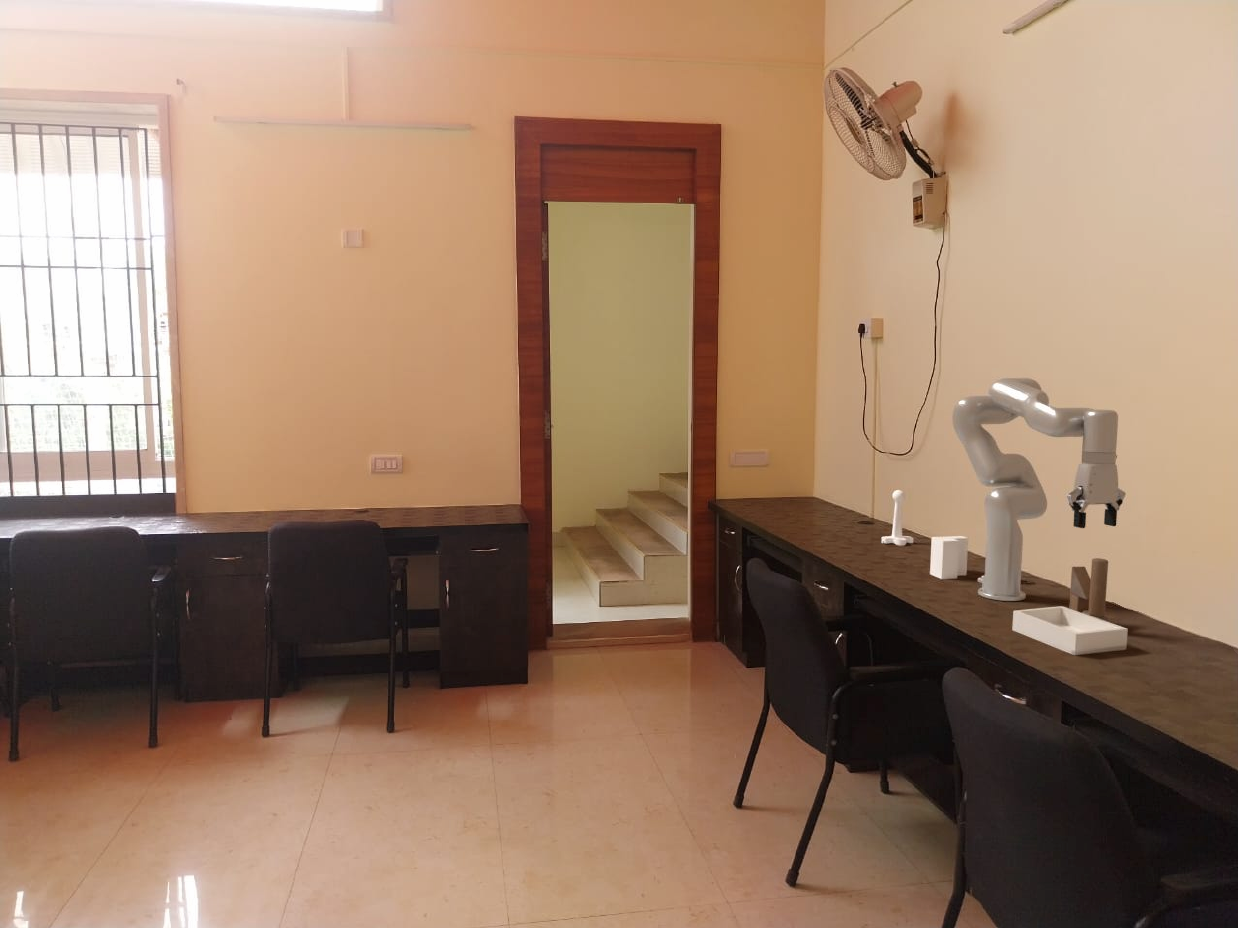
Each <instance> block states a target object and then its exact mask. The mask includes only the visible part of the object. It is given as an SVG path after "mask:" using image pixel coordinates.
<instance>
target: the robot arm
mask: <svg viewBox="0 0 1238 928" xmlns="http://www.w3.org/2000/svg"><path fill="white" fill-rule="evenodd" d="M1018 417H1021V418H1023V419H1024V421H1025V422H1026V425H1028V427H1030V429H1032V430H1034V431H1036V432H1038V433H1041V434H1042V435H1043V434H1044V435H1046V436H1049V437H1053V438H1080V437H1081V438H1082V447H1081V463H1079V464H1078V465H1077V466H1078V467H1077V469H1076V473H1075V477H1074V478H1075V479H1074V484H1073V490H1072V491H1071V492H1069V493H1068V494H1066V498H1067V501H1068V505H1069V506H1070V507H1071V510H1072V512H1073V525H1072V526H1073V527H1074V528H1075V527H1076V528H1079V529H1085V528H1086V523H1087V512H1086V509H1087V508H1088V506H1089V505H1090V506H1091V505H1095V506H1096V505H1105V507H1106V508H1105V509H1104V521H1103V524H1104V525H1106V526H1110V527H1117V521H1118V520H1117V519H1118V518H1117V517H1118V516H1117V515H1118V511H1120V507H1121V505H1122V504H1123V502H1124V499H1125V498H1126V492H1125V491H1123V490H1122V489H1120V488H1119V473H1118V466H1117V464H1116V462H1117V461H1116V460H1117V459H1118V455H1117V445H1118V443H1117V442H1118V427H1119V415H1118V412H1116V411H1115V410H1112V409H1095V408H1094V409H1093V408H1089V407H1056V406H1055V407H1054V406H1052V405H1050V400H1049V396H1048V394H1047V393H1046V392H1045V391H1043V389H1042V387H1041V385H1040V384H1039V383H1038V382H1037V381H1036V380H1035V379H1033V378H1030V377H1028V378H1027V377H1019V378H1018V377H1014V378H1013V377H1011V378H1010V377H1006V378H1000V379H998V380H996V381H994V382H993V383H992V384H991V385H990V387H989V389H988V395H972V396H971V395H970V396H967V397H963V398H961V399H960V400H958V401H957V402H956V403H955V405H954V408H953V410H952V426H953V429H954V432H955V434H956V436H957V437H958V439H959V441H960V442H961V444H962V446H963V447H964V449H965V451H966V454H967V455H968V458H969V461H970V463H971V465H972V467H973V470H974V473H975V474H976V477H977V479H978V481H979V482H980V484H981V485H983V486H985V487H989V488H990V487H991V488H993V487H994V489H992V490H990V491H989V492H988V493H987V494H986V496H985V498H984V511H985V513H984V514H985V518H986V544H985V545H986V546H985V560H984V562H985V563H984V564H985V565H984V575H981V576H980V577H978V578H977V582H978V583H981V587H980V588H978V590H977V593H978V595H979V596H981V597H983V598H986V599H990V600H995V601H1002V602H1003V601H1005V602H1018V601H1022V600H1025V599H1026V595H1027V594H1026V593H1025V592H1024V591H1022V590H1021V579H1022V578H1021V576H1022V563H1023V562H1022V560H1023V545H1024V544H1023V542H1024V537H1023V531H1022V528H1021V526H1020V525H1019V522H1018V521H1021V520H1033V519H1038V518H1040V517H1042V516H1043V515H1045V513H1046V512H1047V510H1048V509H1047V508H1048V500H1047V495H1046V493H1045V491H1044V489H1043V486H1042V484H1041V482H1040V480H1039V477H1038V475H1037V473H1036V471H1035V469H1034V466H1033V465H1032V463H1031V462H1030V460H1029V459H1027V458H1026V457H1025V456H1024V455H1021V454H1018V453H1003V452H1002V451H1001V449H1000V448H999V446H998V444H997V442H996V439H995V438H994V436H993V435H992V434H991V433H990V432H989V431H988V430H986V429H985V428H984V427H983V425H1003V424H1006V423H1010V422H1012V421H1014V420H1015V419H1017V418H1018ZM995 487H996V488H995Z"/></svg>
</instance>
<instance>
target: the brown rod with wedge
mask: <svg viewBox="0 0 1238 928" xmlns="http://www.w3.org/2000/svg"><path fill="white" fill-rule="evenodd" d="M1108 569H1109V561H1108V560H1107V559H1104V558H1099V557H1098V558H1095V557H1094V558H1092V560H1091V569H1090V575H1089V573H1088V570H1087V569H1086V567H1085V566H1072V567H1071V576H1070V577H1071V579H1070V589H1069V590H1070V591H1069V592H1070V597H1069V609H1072V610H1075V611H1077V612H1080V613H1083V614H1086V615H1089V616H1092V617H1095V618H1098V619H1101V620H1104V621H1107V622H1109V621H1108V620H1109V618H1108V617H1107V616H1105V614H1106V613H1105V612H1106V599H1107V587H1108V572H1109V570H1108Z"/></svg>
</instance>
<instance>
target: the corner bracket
mask: <svg viewBox="0 0 1238 928" xmlns="http://www.w3.org/2000/svg"><path fill="white" fill-rule="evenodd" d="M968 545H969V537H966V536H963V535H954V536H953V535H952V536H950V535H949V536H932V537H931V545H930V566H929V567H930V568H929V575H931V576H932V577H933V576H934V577H936V578H939V579H940V580H950V579H951V580H953V579H958V576H967V572H968V571H967V569H968V568H967V567H968V566H967V565H968V551H969V550H968V548H969V547H968Z"/></svg>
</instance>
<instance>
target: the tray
mask: <svg viewBox="0 0 1238 928" xmlns="http://www.w3.org/2000/svg"><path fill="white" fill-rule="evenodd" d="M1012 612H1013V613H1012V627H1011V630H1012V631H1013V632H1016V633H1019V634H1020V635H1023V636H1026V637H1029V638H1031V639H1033V640H1036V641H1038V642H1040V643H1044V644H1046V645H1048V646H1049V647H1050V646H1051V647H1053V648H1056V649H1057V650H1060V651H1062V652H1064V653H1065V652H1066V653H1068V654H1070V655H1073V656H1081V655H1091V654H1097V653H1098V654H1100V653H1106V652H1107V653H1108V652H1115V651H1116V652H1117V651H1124V650H1127V644H1128V632H1129V631H1128V628H1126V627H1123V626H1121V625H1118V624H1115V623H1111V622H1109V621H1108V622H1107V621H1104V620H1101V619H1098V618H1095V617H1092V616H1089V615H1086V614H1083V613H1080V612H1077V611H1075V610H1072V609H1069V608H1068V607H1066V606H1062V605H1061V606H1050V607H1037V608H1029V609H1028V608H1027V609H1020V610H1013V611H1012Z"/></svg>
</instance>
